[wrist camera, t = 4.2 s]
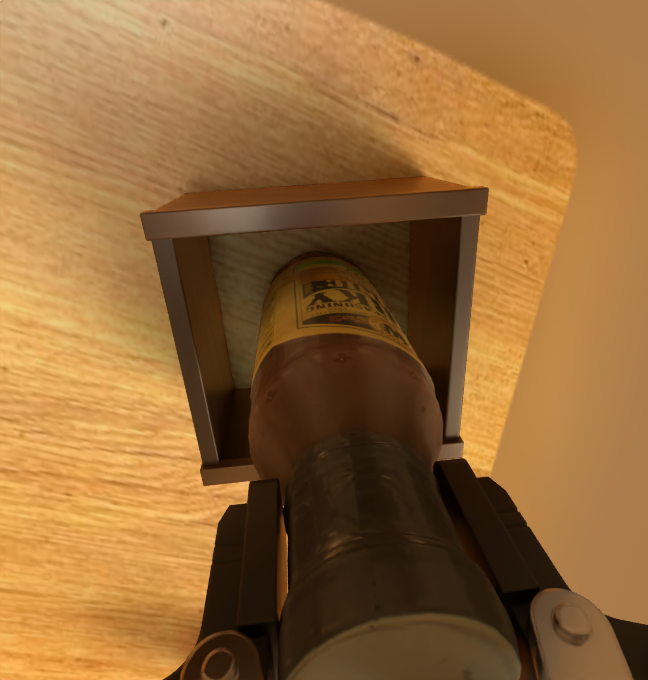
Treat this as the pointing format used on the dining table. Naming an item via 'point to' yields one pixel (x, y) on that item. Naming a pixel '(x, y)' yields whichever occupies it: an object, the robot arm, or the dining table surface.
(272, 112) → the dining table surface
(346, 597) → the sauce bottle
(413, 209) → the brown wooden box
